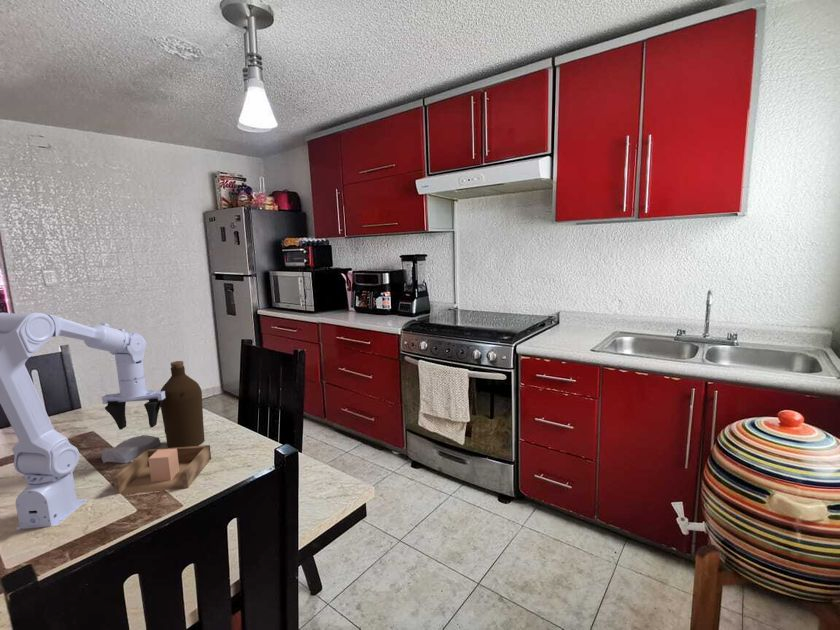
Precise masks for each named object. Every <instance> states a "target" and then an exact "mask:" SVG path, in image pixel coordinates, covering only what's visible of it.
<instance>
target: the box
mask: <svg viewBox="0 0 840 630" xmlns="http://www.w3.org/2000/svg"><path fill="white" fill-rule="evenodd" d="M176 448H177V453H178V462H179V470H180V471H179V472H178V473H177V474H176V475H175V476H174V477H173V478H172V480H166V481H154V482H151V475H150V468H149V460H148V458H149V457H151V456H152V455H153V454H154V453H155V452H156V451H157V450H162V449H176ZM211 460H212V451H211V445H210V444H207V445H206V444H205V445H199V446H189V447H175V448H168V447H164V448H153V449H148V450H145V451H144V452H143V453H142V454H140V455H139V456H138V457H137V458H135V459H133V460H132V461H130V463H128V465H126V466H125V467H124V468H123V469H121V471H119V472H118V473H117V474H116V475H115V476H114V477H112V482H113V489H114V495H119V494H132V493H143V492H144V493H145V492H146V493H147V492H157V491H169V490H179V489H181V490H182V489H189V488H190V486H191V485H192V484H193V483H194V481H195V480H196V479H197V477H198V476H199V475H200V474H201V472H202V471H203V470H204V469H205V467H206V466H207V465H208V464H209V462H210V461H211Z"/></svg>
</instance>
